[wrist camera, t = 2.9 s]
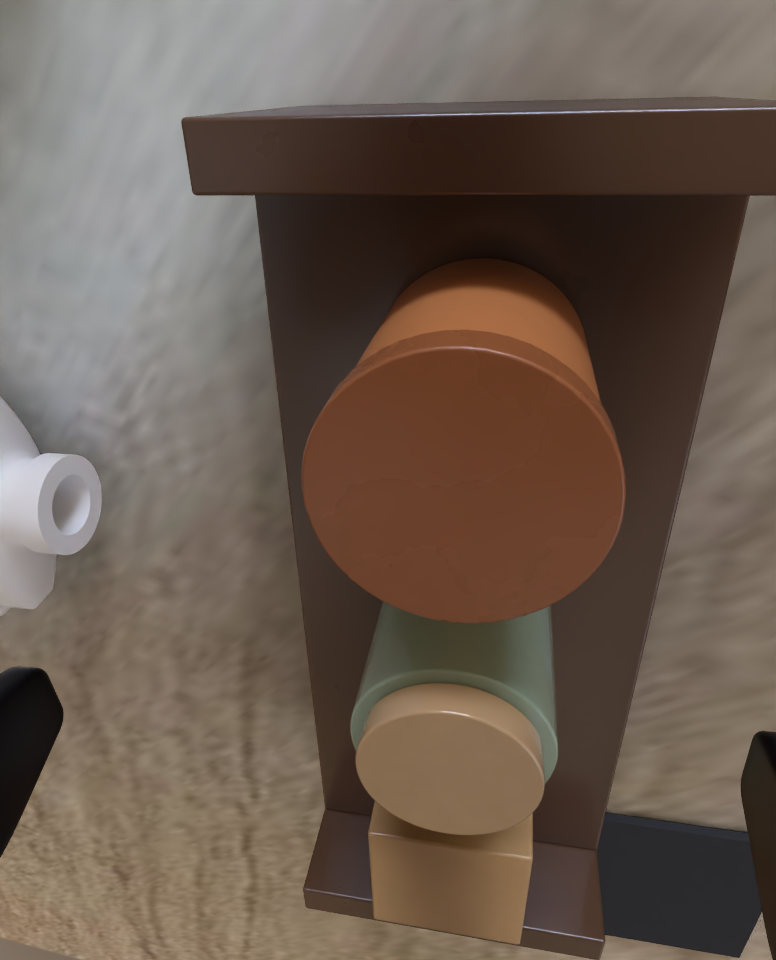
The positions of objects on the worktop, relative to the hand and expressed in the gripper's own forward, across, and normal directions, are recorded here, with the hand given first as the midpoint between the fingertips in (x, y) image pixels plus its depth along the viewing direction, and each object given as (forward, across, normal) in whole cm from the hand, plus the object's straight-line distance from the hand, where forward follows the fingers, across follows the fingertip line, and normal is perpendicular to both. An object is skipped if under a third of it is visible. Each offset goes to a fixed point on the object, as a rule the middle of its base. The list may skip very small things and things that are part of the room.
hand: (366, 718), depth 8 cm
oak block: (+9, 0, +13) cm, 16 cm away
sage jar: (+9, 0, +6) cm, 11 cm away
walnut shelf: (+13, 0, +6) cm, 14 cm away
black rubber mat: (+13, -8, +25) cm, 30 cm away
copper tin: (+9, -1, -1) cm, 9 cm away
